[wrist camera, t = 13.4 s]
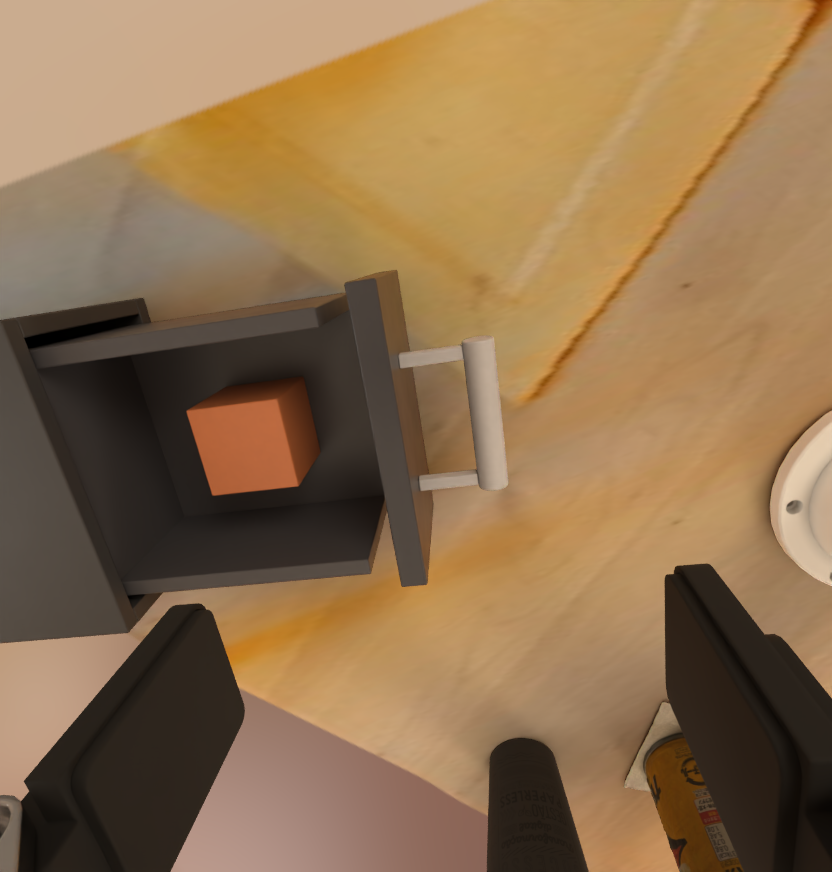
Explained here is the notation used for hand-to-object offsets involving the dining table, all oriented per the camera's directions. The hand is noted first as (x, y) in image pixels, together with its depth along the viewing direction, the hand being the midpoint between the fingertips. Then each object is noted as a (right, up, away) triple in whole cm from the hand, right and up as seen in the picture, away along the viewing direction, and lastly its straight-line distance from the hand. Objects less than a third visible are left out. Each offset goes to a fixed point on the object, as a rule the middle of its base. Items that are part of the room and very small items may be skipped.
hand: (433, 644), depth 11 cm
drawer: (-6, +6, +18) cm, 20 cm away
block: (-8, +5, +18) cm, 20 cm away
